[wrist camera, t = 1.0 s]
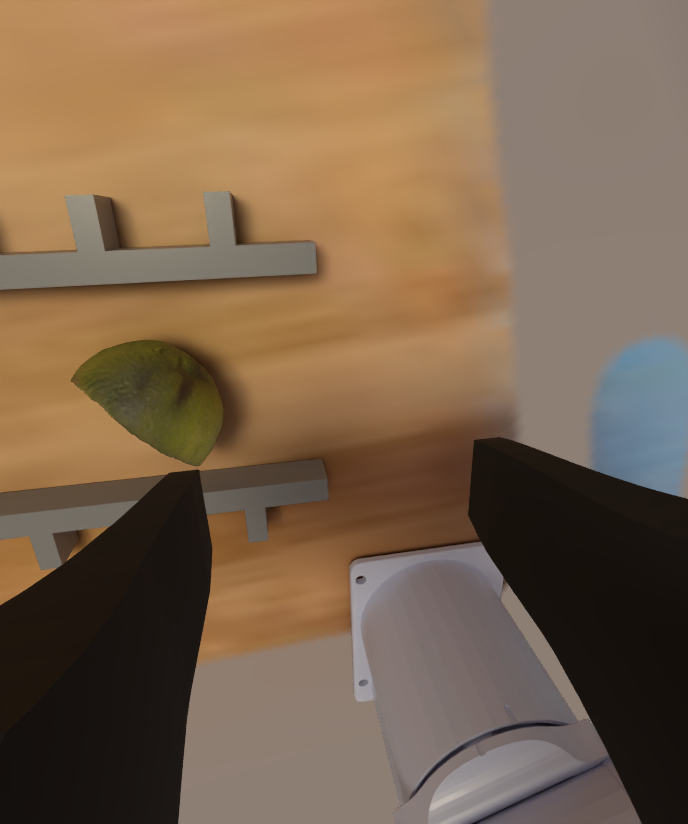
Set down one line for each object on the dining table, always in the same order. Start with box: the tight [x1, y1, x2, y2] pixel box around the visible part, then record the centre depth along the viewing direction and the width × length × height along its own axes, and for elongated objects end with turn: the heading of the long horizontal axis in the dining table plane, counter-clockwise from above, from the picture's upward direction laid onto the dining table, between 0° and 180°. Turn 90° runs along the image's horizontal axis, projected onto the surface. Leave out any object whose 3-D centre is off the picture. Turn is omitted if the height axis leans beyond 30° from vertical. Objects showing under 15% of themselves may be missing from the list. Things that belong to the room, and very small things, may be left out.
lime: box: [71, 340, 224, 466], centre depth 16 cm, size 4×5×5 cm
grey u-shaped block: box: [0, 191, 329, 570], centre depth 16 cm, size 13×20×3 cm, turn 92°
